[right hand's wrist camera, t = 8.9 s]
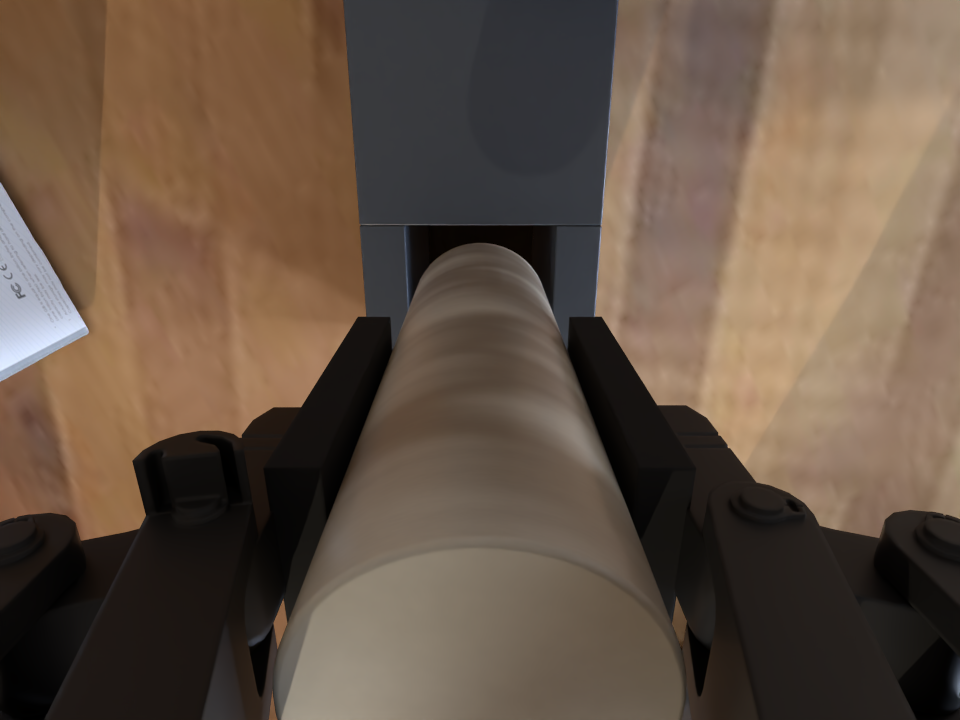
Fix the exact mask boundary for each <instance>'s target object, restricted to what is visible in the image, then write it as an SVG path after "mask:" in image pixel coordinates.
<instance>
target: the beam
mask: <svg viewBox="0 0 960 720" xmlns="http://www.w3.org/2000/svg"><path fill="white" fill-rule="evenodd" d="M343 3H344V16H345V30H346V44H347V57H348V71H349V85H350V98H351V112H352V126H353V140H354V153H355V167H356V181H357V194H358V208H359V222H360V225H361V226H360V235H361V249H362V263H363V276H364V290H365V304H366V317H390V318H391V335H392V351H393V348H394V346H395V343H396V341H397V338H398V335H399V333H400V330H401V328H402V325H403V322H404V320H405V317H406V315H407V312H408V309H409V307H410V304H411V302H412V299H413V296H414V294H415V291H416V289H417V286H418V284H419V281H420V279H421V277H422V275H423V274H424V272H425V271H426V269H427V268H428V267H429V266H430V260H429V228H428V225H533V238H532V268H533V269H534V271H535V272H536V274H537V275H538V277H539V279H540V281H541V284H542V286H543V289H544V291H545V294H546V297H547V299H548V302H549V304H550V307H551V310H552V312H553V315H554V317H555V320H556V323H557V325H558V328H559V331H560V333H561V336H562V338H563V341H564V344H565V346H566V349H567V346H568V329H569V317H595V308H596V295H597V281H598V268H599V255H600V241H601V228H602V227H601V224H602V215H603V201H604V188H605V174H606V161H607V148H608V134H609V121H610V107H611V94H612V80H613V67H614V53H615V40H616V26H617V13H618V0H343Z"/></svg>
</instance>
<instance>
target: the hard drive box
mask: <svg viewBox="0 0 960 720" xmlns="http://www.w3.org/2000/svg"><path fill="white" fill-rule="evenodd" d="M88 333H89V332H88V328H87V326H86V325H85V323H84V321H83V320H82V318H81V316H80V315H79V313H78V311H77V310H76V308H75V306H74V305H73V303H72V301H71V300H70V298H69V296H68V295H67V293H66V291H65V290H64V288H63V286H62V284H61V282H60V279H59V278H58V277H57V275H56V274H55V272H54V270H53V268H52V266H51V265H50V263H49V261H48V259H47V258H46V256H45V254H44V252H43V251H42V249H41V248H40V247H39V245H38V244H37V243H36V241H35V240H34V238H33V236H32V235H31V233H30V231H29V229H28V228H27V226H26V224H25V223H24V221H23V219H22V218H21V216H20V214H19V213H18V211H17V209H16V207H15V206H14V204H13V202H12V201H11V199H10V197H9V196H8V194H7V192H6V190H5V189H4V187H3V185H2V184H1V182H0V381H2V380H4V379H6V378H8V377H10V376H11V375H13V374H15V373H17V372H19V371H21V370H22V369H24V368H26V367H28V366H30V365H31V364H33V363H35V362H37V361H39V360H40V359H42V358H44V357H46V356H48V355H49V354H51V353H53V352H55V351H56V350H58V349H60V348H62V347H64V346H66V345H68V344H70V343H72V342H73V341H75V340H77V339H79V338H81V337H83V336H85V335H87V334H88Z"/></svg>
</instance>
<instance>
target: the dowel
mask: <svg viewBox="0 0 960 720" xmlns="http://www.w3.org/2000/svg"><path fill="white" fill-rule="evenodd" d="M686 688H687V674H686V668H685V661H684V656H683V653H682V650H681V647H680V644H679V641H678V639H677V636H676V633H675V631H674V628H673V625H672V623H671V620H670V618H669V615H668V612H667V610H666V607H665V605H664V602H663V599H662V597H661V594H660V591H659V589H658V586H657V584H656V581H655V578H654V576H653V573H652V571H651V568H650V565H649V563H648V560H647V558H646V555H645V552H644V550H643V547H642V544H641V542H640V539H639V537H638V534H637V531H636V529H635V526H634V524H633V521H632V518H631V516H630V513H629V511H628V508H627V505H626V503H625V500H624V498H623V495H622V492H621V490H620V487H619V484H618V482H617V479H616V477H615V474H614V471H613V469H612V466H611V464H610V461H609V458H608V456H607V453H606V451H605V448H604V445H603V443H602V440H601V438H600V435H599V432H598V430H597V427H596V424H595V422H594V419H593V417H592V414H591V411H590V409H589V406H588V404H587V401H586V398H585V396H584V393H583V391H582V388H581V385H580V383H579V380H578V378H577V375H576V372H575V370H574V367H573V364H572V362H571V359H570V357H569V354H568V351H567V349H566V346H565V344H564V341H563V338H562V336H561V333H560V331H559V328H558V325H557V323H556V320H555V317H554V315H553V312H552V310H551V307H550V304H549V302H548V299H547V297H546V294H545V291H544V289H543V286H542V284H541V281H540V279H539V277H538V275H537V274H536V272H535V271H534V269H533V268H532V267H531V266H530V265H529V264H528V262H527V261H526V260H524V259H523V258H522V257H521V256H519V255H518V254H516V253H515V252H513V251H511V250H509V249H507V248H504V247H502V246H498V245H495V244H488V243H472V244H466V245H462V246H458V247H456V248H453V249H451V250H449V251H447V252H445V253H443V254H442V255H441V256H439V257H438V258H437V259H436V260H435V261H433V262H432V263H431V264H430V266H429V267H428V268H427V269H426V271H425V272H424V274H423V275H422V277H421V279H420V281H419V284H418V286H417V289H416V291H415V294H414V296H413V299H412V302H411V304H410V307H409V309H408V312H407V315H406V317H405V320H404V322H403V325H402V328H401V330H400V333H399V335H398V338H397V341H396V343H395V346H394V348H393V351H392V354H391V356H390V359H389V361H388V364H387V367H386V369H385V372H384V374H383V377H382V380H381V382H380V385H379V387H378V390H377V393H376V395H375V398H374V400H373V403H372V406H371V408H370V411H369V413H368V416H367V419H366V421H365V424H364V426H363V429H362V431H361V434H360V437H359V439H358V442H357V444H356V447H355V450H354V452H353V455H352V457H351V460H350V463H349V465H348V468H347V470H346V473H345V476H344V478H343V481H342V483H341V486H340V489H339V491H338V494H337V496H336V499H335V502H334V504H333V507H332V509H331V512H330V515H329V517H328V520H327V522H326V525H325V528H324V530H323V533H322V535H321V538H320V541H319V543H318V546H317V548H316V551H315V554H314V556H313V559H312V561H311V564H310V567H309V569H308V572H307V574H306V577H305V580H304V582H303V585H302V587H301V590H300V593H299V595H298V598H297V600H296V603H295V606H294V608H293V611H292V613H291V616H290V619H289V621H288V624H287V626H286V629H285V632H284V634H283V637H282V639H281V642H280V645H279V647H278V650H277V654H276V659H275V664H274V668H273V697H274V704H275V711H276V716H277V719H278V720H682V717H683V712H684V707H685V702H686Z"/></svg>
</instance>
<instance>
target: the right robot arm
mask: <svg viewBox="0 0 960 720" xmlns="http://www.w3.org/2000/svg"><path fill="white" fill-rule="evenodd" d="M567 351H568V354H569V357H570V359H571V362H572V364H573V367H574V370H575V372H576V375H577V378H578V380H579V383H580V385H581V388H582V391H583V393H584V396H585V398H586V401H587V404H588V406H589V409H590V411H591V414H592V417H593V419H594V422H595V424H596V427H597V430H598V432H599V435H600V438H601V440H602V443H603V445H604V448H605V451H606V453H607V456H608V458H609V461H610V464H611V466H612V469H613V471H614V474H615V477H616V479H617V482H618V484H619V487H620V490H621V492H622V495H623V498H624V500H625V503H626V505H627V508H628V511H629V513H630V516H631V518H632V521H633V524H634V526H635V529H636V531H637V534H638V537H639V539H640V542H641V544H642V547H643V550H644V552H645V555H646V558H647V560H648V563H649V565H650V568H651V571H652V573H653V576H654V578H655V581H656V584H657V586H658V589H659V591H660V594H661V597H662V599H663V602H664V605H665V607H666V610H667V612H668V615H669V618H670V620H671V623H672V620H673V614H674V608H675V601H676V596H677V598H678V601H679V603H680V605H681V608H682V610H683V613H684V615H685V618H686V620H687V624H686V630H685V636H684V642H683V648H682V653H683V656H684V661H685V668H686V674H687V688H686V702H685V707H684V712H683V717H682V720H960V519H958V518H955V517H952V516H949V515H946V516H945V515H943V514H941V513H936V512H925V511H914V510H908V511H902V512H896V513H893V514H892V515H891V516H889V517H888V518H887V519H886V520H885V522H884V525H883V528H882V532H881V535H880V538H875V537H870V536H865V535H859V534H854V533H849V532H844V531H839V530H834V529H830V528H826V527H822V526H819V524H818V522H817V520H816V518H815V516H814V514H813V513H812V512H811V511H810V510H809V508H808V507H807V506H806V505H805V503H803V502H802V501H800V500H799V499H797V498H796V497H794V496H793V495H791V494H790V493H788V492H785V491H783V490H780V489H778V488H775V487H773V486H770V485H765V484H761V483H756V481H755V480H754V479H753V478H752V476H751V475H750V474H749V472H748V471H747V470H746V468H745V467H744V466H743V465H742V463H741V462H740V461H739V459H738V458H737V457H736V455H735V454H734V453H733V452H732V450H731V449H730V448H728V447H727V446H728V445H727V444H726V442H725V441H724V440H723V439H722V437H721V436H718V432H717V431H716V429H715V428H714V427H713V426H712V424H711V423H710V422H709V420H708V419H707V418H706V417H704V416H703V415H701V414H699V413H698V412H696V411H694V410H693V409H691V408H689V407H688V406H686V405H657V404H656V403H655V401H654V400H653V398H652V396H651V395H650V393H649V392H648V390H647V388H646V387H645V385H644V384H643V382H642V381H641V379H640V377H639V376H638V374H637V373H636V371H635V369H634V368H633V366H632V365H631V363H630V361H629V360H628V358H627V357H626V355H625V353H624V352H623V350H622V349H621V347H620V345H619V344H618V342H617V341H616V339H615V337H614V336H613V334H612V333H611V331H610V330H609V328H608V326H607V325H606V323H605V322H604V320H603V318H602V317H569V329H568V346H567ZM391 354H392V335H391V318H390V317H358V318H357V319H356V321H355V323H354V324H353V326H352V327H351V329H350V331H349V332H348V334H347V335H346V337H345V338H344V340H343V342H342V343H341V345H340V346H339V348H338V350H337V351H336V353H335V354H334V356H333V358H332V359H331V361H330V362H329V364H328V366H327V367H326V369H325V370H324V372H323V374H322V375H321V377H320V378H319V380H318V381H317V383H316V385H315V386H314V388H313V389H312V391H311V393H310V394H309V396H308V397H307V399H306V401H305V402H304V404H303V405H302V407H274V408H272V409H270V410H269V411H267V412H266V413H264V414H262V415H261V416H259V417H257V418H256V419H254V420H253V421H252V422H251V424H250V425H249V426H248V428H247V429H246V430H245V431H244V433H243V434H242V438H238V437H237V436H236V435H234V434H231V433H227V432H222V431H197V432H191V433H185V434H179V435H177V436H174V437H171V438H168V439H165V440H162V441H159V442H157V443H155V444H154V445H152V446H150V447H148V448H146V449H145V450H143V451H142V452H141V453H140V454H139V455H138V456H137V457H136V458H135V459H134V460H133V465H134V469H135V473H136V477H137V481H138V485H139V489H140V493H141V497H142V501H143V505H144V509H145V513H146V517H145V519H144V521H143V523H142V525H141V527H140V529H137V530H133V531H129V532H125V533H120V534H114V535H109V536H104V537H99V538H94V539H89V540H84V541H81V540H80V536H79V533H78V530H77V527H76V523H75V522H74V521H73V520H71V519H70V518H69V517H68V516H66V515H60V514H54V513H44V514H34V515H24V516H19V517H17V518H11V519H8V520H5V521H2V522H0V720H269V713H270V705H271V697H272V689H273V668H274V664H275V659H276V654H277V643H276V636H275V630H274V624H273V622H274V620H275V617H276V615H277V613H278V610H279V608H280V605H281V603H282V600H283V598H284V604H285V610H286V616H287V623H288V621H289V619H290V616H291V613H292V611H293V608H294V606H295V603H296V600H297V598H298V595H299V593H300V590H301V587H302V585H303V582H304V580H305V577H306V574H307V572H308V569H309V567H310V564H311V561H312V559H313V556H314V554H315V551H316V548H317V546H318V543H319V541H320V538H321V535H322V533H323V530H324V528H325V525H326V522H327V520H328V517H329V515H330V512H331V509H332V507H333V504H334V502H335V499H336V496H337V494H338V491H339V489H340V486H341V483H342V481H343V478H344V476H345V473H346V470H347V468H348V465H349V463H350V460H351V457H352V455H353V452H354V450H355V447H356V444H357V442H358V439H359V437H360V434H361V431H362V429H363V426H364V424H365V421H366V419H367V416H368V413H369V411H370V408H371V406H372V403H373V400H374V398H375V395H376V393H377V390H378V387H379V385H380V382H381V380H382V377H383V374H384V372H385V369H386V367H387V364H388V361H389V359H390V356H391Z"/></svg>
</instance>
